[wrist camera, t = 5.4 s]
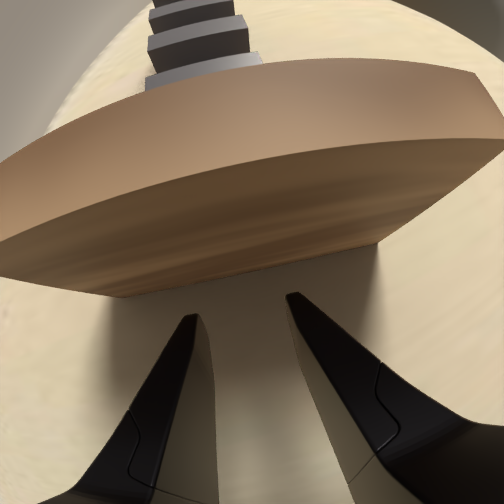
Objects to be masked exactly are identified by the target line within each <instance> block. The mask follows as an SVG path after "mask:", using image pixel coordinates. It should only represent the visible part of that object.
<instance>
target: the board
mask: <svg viewBox="0 0 504 504" xmlns="http://www.w3.org/2000/svg"><path fill="white" fill-rule="evenodd" d="M503 150H504V117H503V115H502V113H501V112H500V110H499V109H498V107H497V105H496V104H495V102H494V101H493V99H492V97H491V96H490V94H489V93H488V91H487V90H486V88H485V87H484V86H483V84H482V83H481V81H480V80H479V79H478V77H477V76H476V74H475V73H472V72H468V71H464V70H459V69H454V68H449V67H444V66H438V65H432V64H425V63H417V62H409V61H399V60H386V59H366V58H326V59H306V60H293V61H283V62H274V63H266V64H259V65H252V66H245V67H240V68H234V69H229V70H224V71H219V72H214V73H209V74H205V75H201V76H197V77H192V78H189V79H185V80H181V81H177V82H174V83H170V84H167V85H164V86H160V87H157V88H154V89H151V90H148V91H145V92H142V93H139V94H136V95H133V96H130V97H128V98H125V99H122V100H120V101H117V102H115V103H112V104H110V105H107V106H105V107H102V108H100V109H98V110H95V111H93V112H91V113H89V114H86V115H84V116H82V117H80V118H78V119H76V120H74V121H71V122H69V123H67V124H65V125H63V126H61V127H60V128H58V129H56V130H54V131H52V132H50V133H48V134H46V135H45V136H43V137H41V138H39V139H38V140H36V141H34V142H32V143H31V144H29V145H27V146H26V147H24V148H22V149H21V150H19V151H18V152H16V153H15V154H13V155H11V156H10V157H8V158H7V159H5V160H4V161H3V162H1V163H0V277H5V278H9V279H14V280H19V281H24V282H29V283H34V284H39V285H44V286H49V287H55V288H61V289H66V290H72V291H78V292H85V293H91V294H98V295H104V296H111V297H118V298H125V297H130V296H135V295H140V294H145V293H150V292H155V291H160V290H165V289H170V288H175V287H180V286H185V285H190V284H195V283H200V282H205V281H209V280H214V279H219V278H224V277H228V276H233V275H238V274H242V273H247V272H252V271H256V270H261V269H266V268H270V267H275V266H279V265H284V264H288V263H293V262H297V261H302V260H306V259H310V258H315V257H319V256H323V255H328V254H332V253H336V252H341V251H345V250H349V249H354V248H358V247H362V246H366V245H370V244H375V243H378V242H380V241H381V240H383V239H384V238H386V237H387V236H389V235H390V234H392V233H393V232H395V231H396V230H398V229H399V228H400V227H402V226H403V225H405V224H406V223H408V222H409V221H411V220H412V219H414V218H415V217H416V216H418V215H419V214H421V213H422V212H423V211H425V210H426V209H428V208H429V207H431V206H432V205H433V204H435V203H436V202H437V201H439V200H440V199H442V198H443V197H444V196H446V195H447V194H448V193H450V192H451V191H452V190H454V189H455V188H456V187H458V186H459V185H460V184H462V183H463V182H464V181H466V180H467V179H468V178H470V177H471V176H472V175H473V174H475V173H476V172H477V171H478V170H480V169H481V168H482V167H484V166H485V165H486V164H487V163H489V162H490V161H491V160H492V159H494V158H495V157H496V156H497V155H498V154H500V153H501V152H502V151H503Z"/></svg>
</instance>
